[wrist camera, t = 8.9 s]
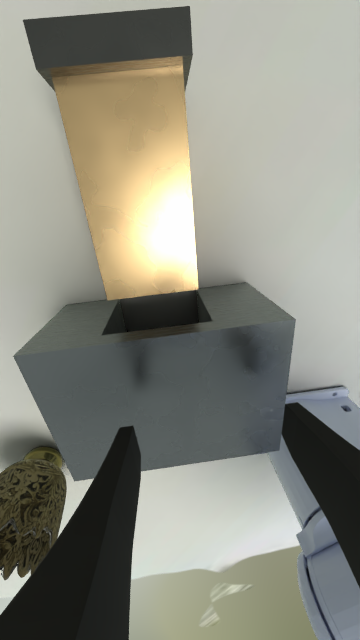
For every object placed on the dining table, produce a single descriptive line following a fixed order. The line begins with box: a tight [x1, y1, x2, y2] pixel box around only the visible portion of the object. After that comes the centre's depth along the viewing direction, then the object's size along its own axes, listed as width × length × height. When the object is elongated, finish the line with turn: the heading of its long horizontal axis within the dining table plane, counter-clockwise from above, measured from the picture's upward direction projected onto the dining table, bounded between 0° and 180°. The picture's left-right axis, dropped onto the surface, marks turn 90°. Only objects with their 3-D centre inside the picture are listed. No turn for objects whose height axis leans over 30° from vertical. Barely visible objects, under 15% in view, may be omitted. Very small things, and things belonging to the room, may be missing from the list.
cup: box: [0, 447, 67, 580], centre depth 20 cm, size 8×7×8 cm
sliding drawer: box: [23, 6, 198, 300], centre depth 12 cm, size 6×10×6 cm, turn 5°
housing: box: [13, 283, 296, 481], centre depth 17 cm, size 14×10×7 cm
